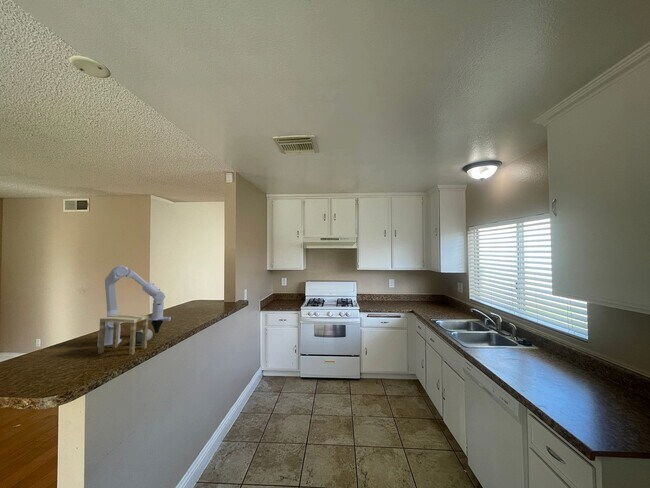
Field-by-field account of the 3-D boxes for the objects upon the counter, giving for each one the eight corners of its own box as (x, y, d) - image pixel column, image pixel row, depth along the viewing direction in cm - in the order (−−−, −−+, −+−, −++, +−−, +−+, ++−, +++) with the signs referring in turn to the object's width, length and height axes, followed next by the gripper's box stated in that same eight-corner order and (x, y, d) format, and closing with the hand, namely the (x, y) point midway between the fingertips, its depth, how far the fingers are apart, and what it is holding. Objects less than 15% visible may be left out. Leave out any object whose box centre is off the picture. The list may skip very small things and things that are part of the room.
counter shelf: (132, 354, 128) (134, 319, 129) (97, 353, 129) (100, 318, 130) (146, 347, 138) (148, 315, 139) (114, 346, 139) (116, 314, 140)
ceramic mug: (153, 340, 150) (154, 327, 151) (144, 345, 142) (145, 331, 142) (135, 340, 150) (135, 327, 150) (124, 345, 141) (125, 331, 142)
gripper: (141, 312, 154) (140, 334, 153) (168, 311, 157) (167, 333, 156) (147, 309, 161) (146, 331, 160) (172, 309, 164) (171, 330, 163)
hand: (156, 332), depth 159 cm, fingers closed
